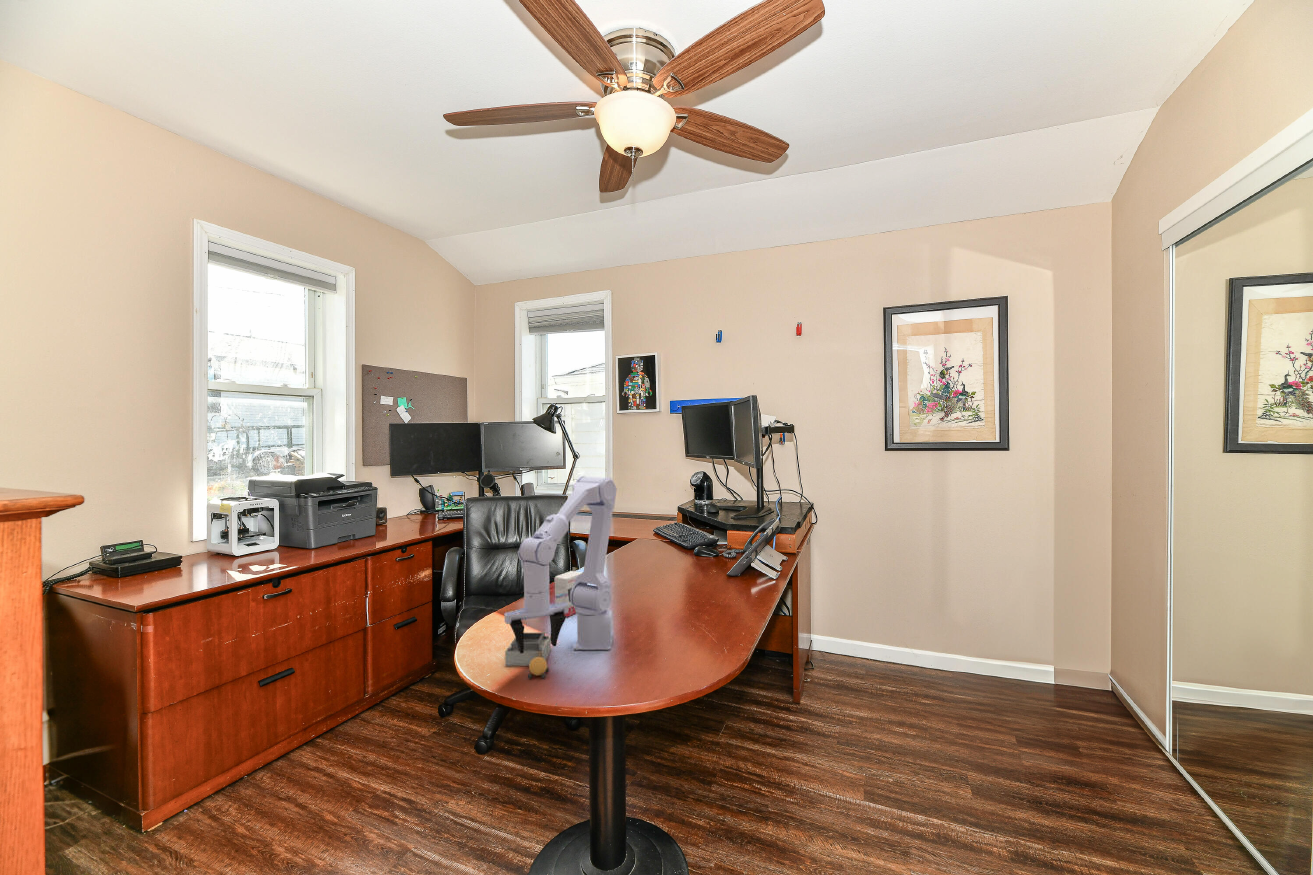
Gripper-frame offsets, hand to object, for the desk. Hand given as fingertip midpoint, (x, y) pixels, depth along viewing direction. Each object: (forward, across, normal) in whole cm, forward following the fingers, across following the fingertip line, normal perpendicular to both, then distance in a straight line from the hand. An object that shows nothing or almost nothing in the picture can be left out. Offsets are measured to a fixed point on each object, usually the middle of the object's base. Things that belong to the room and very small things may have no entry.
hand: (537, 648), depth 123 cm
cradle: (+6, 0, 0) cm, 6 cm away
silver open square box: (+6, -1, -10) cm, 12 cm away
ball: (+6, 0, 0) cm, 6 cm away
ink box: (+6, -20, -36) cm, 42 cm away
